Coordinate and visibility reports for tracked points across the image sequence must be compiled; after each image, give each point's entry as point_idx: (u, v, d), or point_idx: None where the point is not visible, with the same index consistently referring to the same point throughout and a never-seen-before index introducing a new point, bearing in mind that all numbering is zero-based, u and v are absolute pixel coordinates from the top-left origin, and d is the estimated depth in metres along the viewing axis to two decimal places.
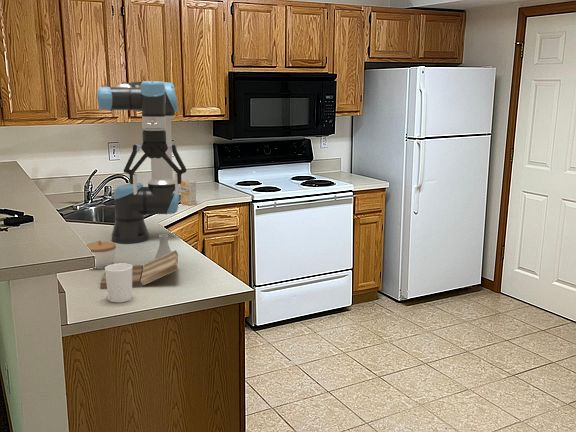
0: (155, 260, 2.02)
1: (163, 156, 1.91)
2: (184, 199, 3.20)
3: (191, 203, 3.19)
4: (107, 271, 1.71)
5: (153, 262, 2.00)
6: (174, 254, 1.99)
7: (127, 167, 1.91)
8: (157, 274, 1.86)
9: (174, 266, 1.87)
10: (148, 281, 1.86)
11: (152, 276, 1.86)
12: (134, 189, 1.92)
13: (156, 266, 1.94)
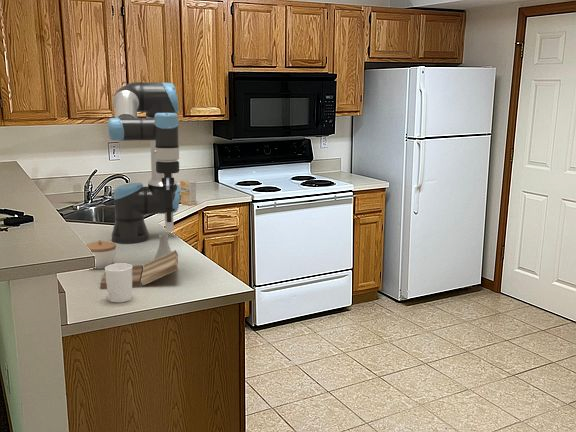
0: (155, 260, 2.02)
1: (162, 188, 1.91)
2: (184, 199, 3.20)
3: (191, 203, 3.19)
4: (107, 271, 1.71)
5: (153, 262, 2.00)
6: (174, 254, 1.99)
7: None
8: (157, 274, 1.86)
9: (174, 266, 1.87)
10: (148, 281, 1.86)
11: (152, 276, 1.86)
12: (165, 225, 1.95)
13: (156, 266, 1.94)
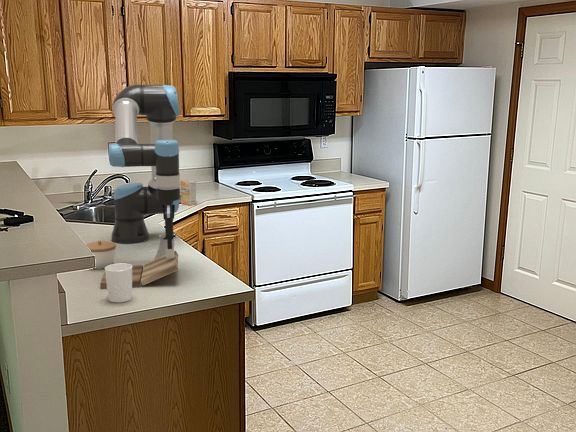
0: (155, 260, 2.02)
1: None
2: (184, 199, 3.20)
3: (191, 203, 3.19)
4: (107, 271, 1.71)
5: (153, 262, 2.00)
6: (174, 254, 1.99)
7: None
8: (157, 274, 1.86)
9: (174, 266, 1.87)
10: (148, 281, 1.86)
11: (152, 276, 1.86)
12: None
13: (156, 266, 1.94)
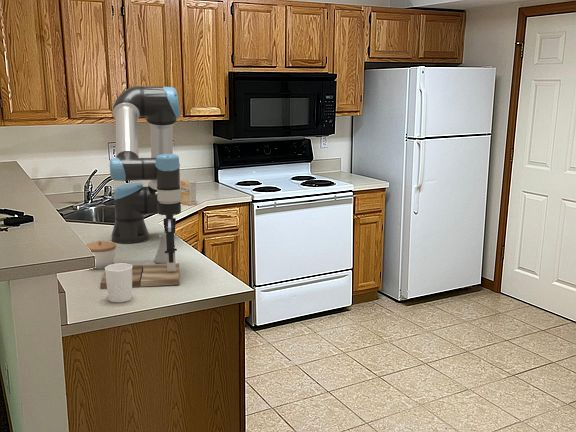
0: (156, 265, 2.02)
1: None
2: (184, 199, 3.20)
3: (191, 203, 3.19)
4: (107, 271, 1.71)
5: (154, 266, 2.01)
6: (177, 267, 2.00)
7: None
8: (158, 281, 1.87)
9: (177, 280, 1.88)
10: (147, 284, 1.87)
11: (153, 281, 1.87)
12: (167, 265, 1.96)
13: (158, 272, 1.95)
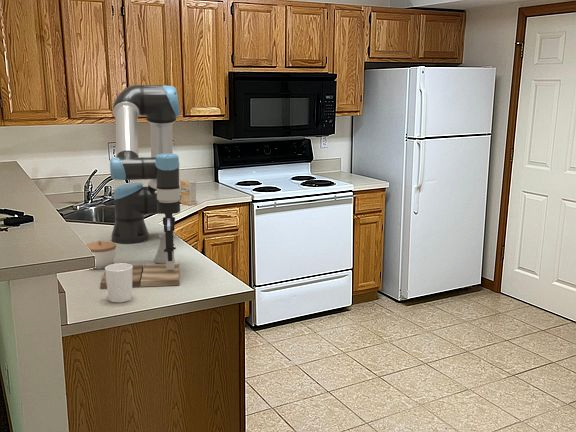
0: (156, 265, 2.02)
1: None
2: (184, 199, 3.20)
3: (191, 203, 3.19)
4: (107, 271, 1.71)
5: (154, 267, 2.01)
6: (177, 268, 2.00)
7: None
8: (158, 281, 1.87)
9: (177, 281, 1.88)
10: (147, 284, 1.87)
11: (153, 282, 1.87)
12: (166, 264, 1.98)
13: (158, 272, 1.95)
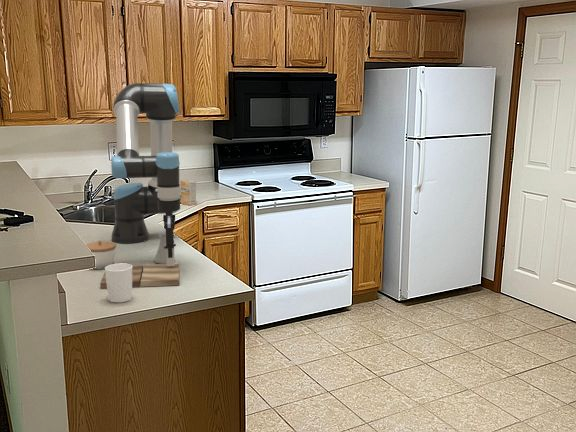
0: (156, 265, 2.02)
1: (164, 225, 1.97)
2: (184, 199, 3.20)
3: (191, 203, 3.19)
4: (107, 271, 1.71)
5: (154, 267, 2.01)
6: (177, 268, 2.00)
7: None
8: (158, 281, 1.87)
9: (177, 281, 1.88)
10: (147, 284, 1.87)
11: (153, 282, 1.87)
12: None
13: (158, 272, 1.95)
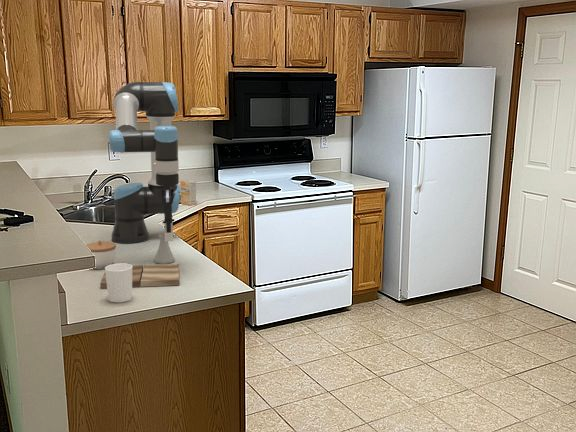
0: (156, 265, 2.02)
1: (162, 200, 1.96)
2: (184, 199, 3.20)
3: (191, 203, 3.19)
4: (107, 271, 1.71)
5: (154, 267, 2.01)
6: (177, 268, 2.00)
7: None
8: (158, 281, 1.87)
9: (177, 281, 1.88)
10: (147, 284, 1.87)
11: (153, 282, 1.87)
12: None
13: (158, 272, 1.95)
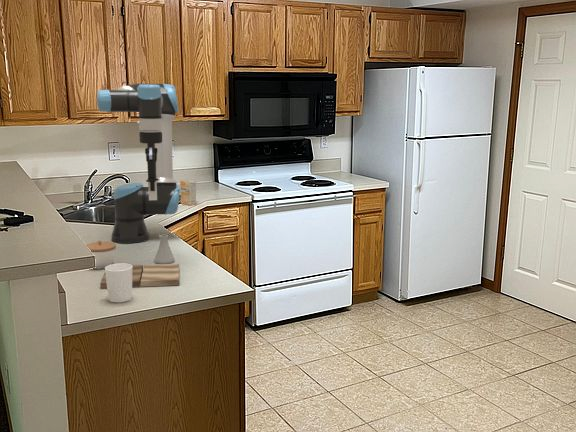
0: (156, 265, 2.02)
1: (146, 158, 1.98)
2: (184, 199, 3.20)
3: (191, 203, 3.19)
4: (107, 271, 1.71)
5: (154, 267, 2.01)
6: (177, 268, 2.00)
7: None
8: (158, 281, 1.87)
9: (177, 281, 1.88)
10: (147, 284, 1.87)
11: (153, 282, 1.87)
12: (148, 194, 2.02)
13: (158, 272, 1.95)
